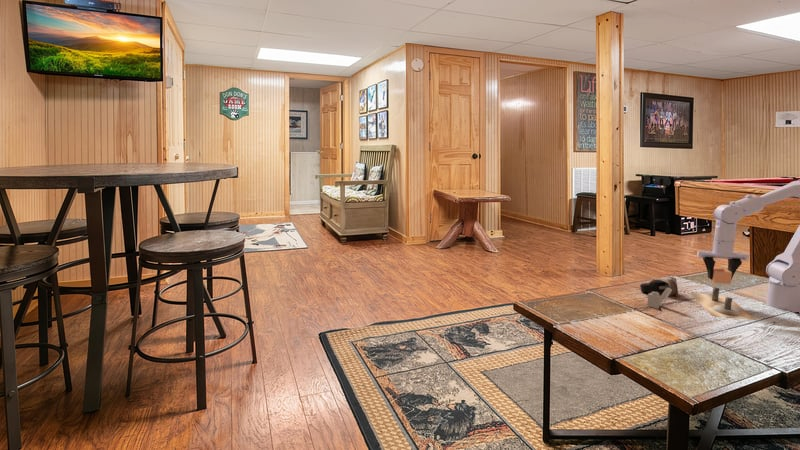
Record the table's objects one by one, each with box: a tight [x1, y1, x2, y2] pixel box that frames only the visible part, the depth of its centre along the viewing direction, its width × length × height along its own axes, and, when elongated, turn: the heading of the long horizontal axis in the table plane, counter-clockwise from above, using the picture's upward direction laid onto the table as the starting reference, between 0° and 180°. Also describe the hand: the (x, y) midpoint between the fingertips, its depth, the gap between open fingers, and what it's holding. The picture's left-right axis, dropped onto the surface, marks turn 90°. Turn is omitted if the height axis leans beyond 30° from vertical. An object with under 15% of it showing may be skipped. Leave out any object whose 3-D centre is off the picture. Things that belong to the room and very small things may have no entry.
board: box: [689, 286, 758, 321], centre depth 152 cm, size 12×24×6 cm, turn 163°
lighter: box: [647, 288, 672, 310], centre depth 152 cm, size 7×2×8 cm, turn 29°
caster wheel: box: [639, 276, 680, 298], centre depth 167 cm, size 7×12×10 cm
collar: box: [707, 267, 732, 285], centre depth 154 cm, size 5×5×4 cm
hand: (719, 279), depth 154 cm, fingers closed on collar, 5 cm apart
